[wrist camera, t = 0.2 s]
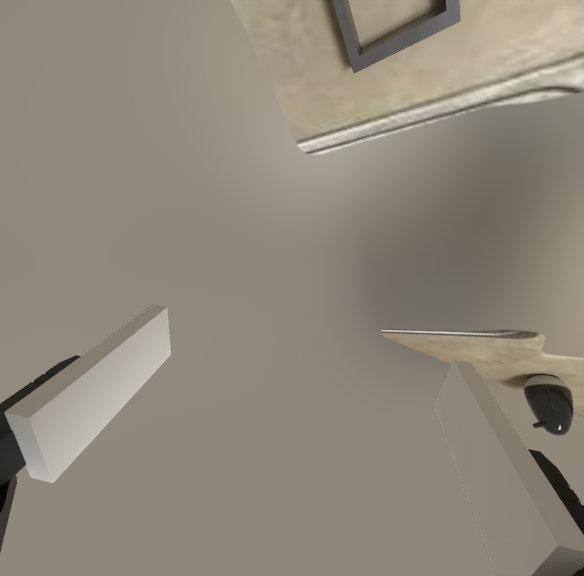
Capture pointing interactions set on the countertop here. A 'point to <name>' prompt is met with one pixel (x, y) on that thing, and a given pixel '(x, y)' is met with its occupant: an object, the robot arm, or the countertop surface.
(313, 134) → the countertop surface
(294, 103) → the countertop surface
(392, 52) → the grey flat rectangular frame
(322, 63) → the countertop surface
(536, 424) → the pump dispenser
